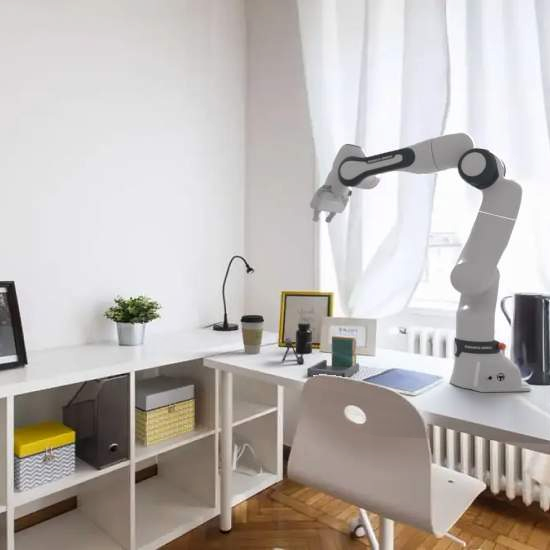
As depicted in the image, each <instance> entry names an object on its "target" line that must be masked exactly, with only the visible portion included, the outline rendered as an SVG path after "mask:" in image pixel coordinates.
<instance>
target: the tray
mask: <svg viewBox="0 0 550 550" xmlns="http://www.w3.org/2000/svg"><path fill="white" fill-rule="evenodd" d="M327 362H328V361H327V359H323V360H321V361H320V362H319V361H318V363H316V364H314V365H312V366H310V367H308V368H307V375H308V376H307V377H310V376H313V375H319V374H327V375H336V376H342V377H349V378H351V377H353V374H354V373H355V374H357V373H358V372H360V363H358V362H356V364H354V365H353V366H351V367H350V368H341V367H332V365H327V364H328V363H327ZM357 371H358V372H357ZM355 374H354V375H355ZM350 376H351V377H350Z"/></svg>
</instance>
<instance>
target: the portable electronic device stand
mask: <svg viewBox="0 0 550 550" xmlns="http://www.w3.org/2000/svg"><path fill="white" fill-rule="evenodd" d="M284 343H285V344H284V345H285V347H286V348H287V349H286V351H285V352H284V355H283V357H282V359H281V363H282V364H284V361H285V359H286V358H287V356H288V353H289V351H290V348H291V349H292V352H293V354H294V355H295V357H296V360H297V363H298V364H299V365H301V364H302V365H304V364H305V361H304V356H303V354H300V356H299V355H298V353H297V352H296V348H295V347H294V345H293V343H292V340H291V339H290V338H289V337H286V338H285V339H284Z"/></svg>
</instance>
